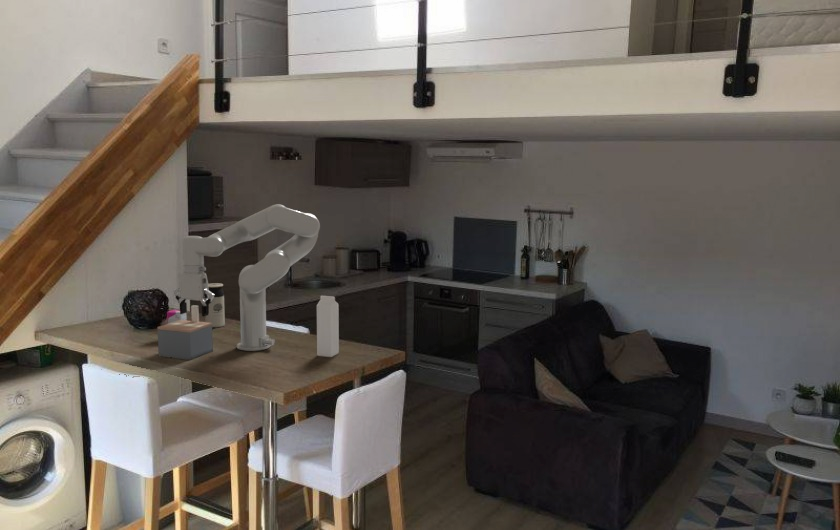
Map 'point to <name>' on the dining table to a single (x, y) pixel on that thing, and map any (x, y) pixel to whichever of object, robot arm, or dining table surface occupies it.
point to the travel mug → (216, 306)
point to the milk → (327, 326)
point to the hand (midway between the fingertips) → (194, 314)
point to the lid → (186, 323)
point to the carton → (185, 343)
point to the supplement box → (175, 316)
